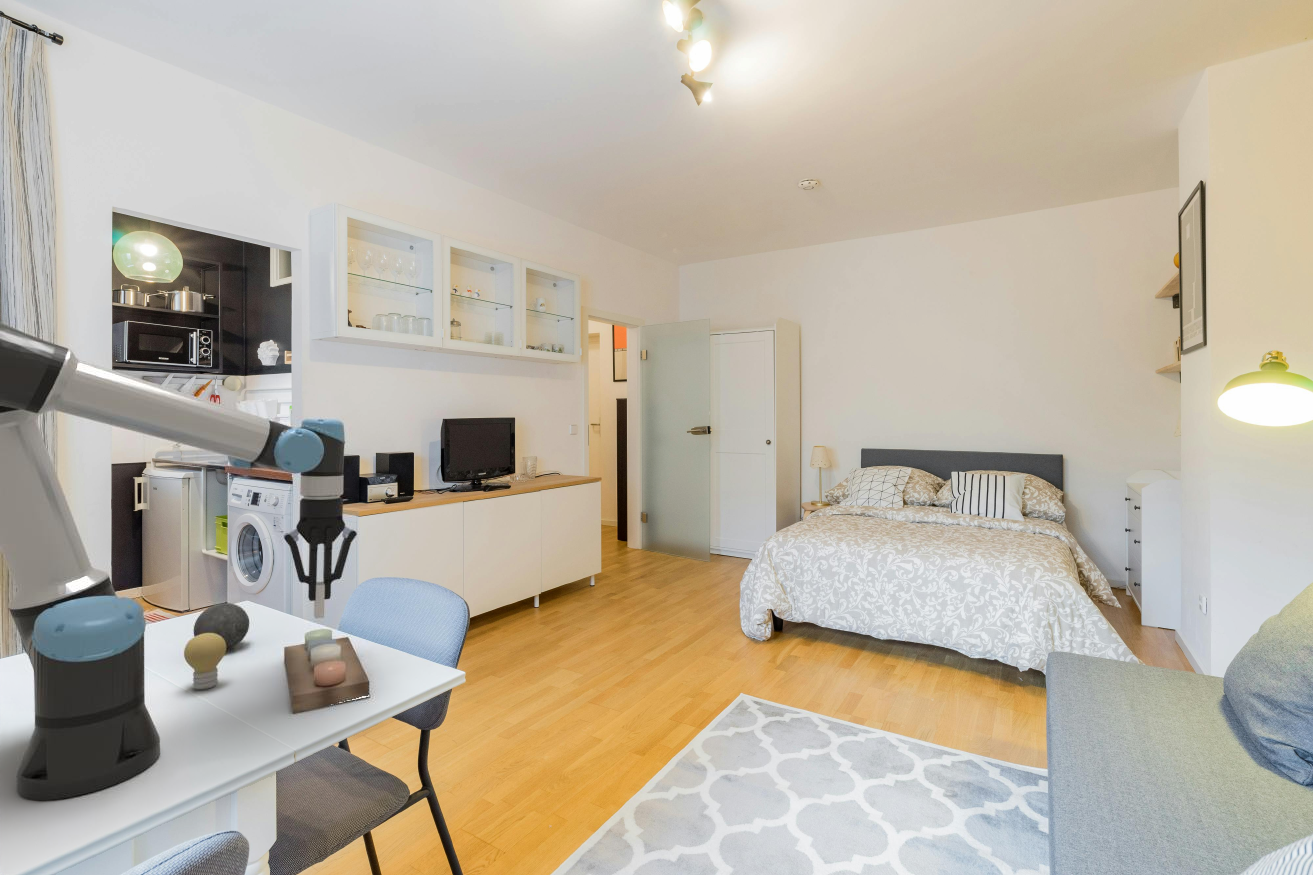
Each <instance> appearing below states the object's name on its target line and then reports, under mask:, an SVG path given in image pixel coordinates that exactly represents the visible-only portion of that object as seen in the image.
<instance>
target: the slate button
mask: <svg viewBox="0 0 1313 875" xmlns="http://www.w3.org/2000/svg"><path fill="white" fill-rule="evenodd" d="M334 639H335V638H332V639H320V640H315V641H312V642H310V643H309V644H308V659H309V660H311V649H312V648H314V647H316V646H319V645H324V644H336V640H334Z"/></svg>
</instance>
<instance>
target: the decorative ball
mask: <svg viewBox="0 0 1313 875" xmlns="http://www.w3.org/2000/svg"><path fill="white" fill-rule="evenodd" d="M249 629H250V618H249V616H248V613H247V611H245V609H244V608H242V606H240V605H238V604H234V603H231V602H230V603H228V602H223V603H222V602H221V603H218V604H214V605H210V606H209V607H208V608H206V609H204V611H203V612H202V613H200V614H199V616H198V617H197V618H196V620H195V622H194V625H193V638H194V637H195V636H197V635H200V634H204V633H214V634H218V635H220V636H221V637H222V638H223V639H224V640H225V643H226V651H227V650H230V649H232V648H233V647H235V646H237V645H238V644H239V643H242V641H243V640H244V638H246V635H248V634H247V633H248V632H249Z"/></svg>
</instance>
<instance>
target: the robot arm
mask: <svg viewBox="0 0 1313 875" xmlns="http://www.w3.org/2000/svg"><path fill="white" fill-rule="evenodd" d="M51 411H56V412H60V413H63V414H67V415H71V416H74V417H75V416H76V417H78V418H82V419H87V420H91V421H93V422H98V423H100V424H101V423H102V424H105V425H110V426H112V427H117V428H121V429H125V430H128V431H132V432H136V433H139V434H143V435H146V436H149V437H155V438H158V439H163V440H167V441H170V442H174V443H177V444H181V445H184V446H189V447H193V448H196V449H200V450H204V451H208V452H211V453H215V454H219V455H223V456H227V459H228V462H229V464H230V466H232V467H233V468H234V469H248V470H252V469H265V470H266V469H267V470H275V471H282V472H285V473H290V474H294V475H295V474H299V475H300V489H299V491H300V492H299V495H300V496H302V497H303V498H301V499H300V500H299V519H298V522H297V524H296V528H295V529H292V531H290V532H286V533H285V534H284V535H283V538H284V540H285V541H286V543H287V544H288V545H289V548H290V552H291V555H292V560H293V563H294V567H295V571H296V575H297V578H298V581H299V582H300V583H301V584H307V586H308V593H307V594H308V597H307V598H308V600H309V601H310V602H314V606H313V607H314V608H313V614H314V615H313V616H314V618H315V619H321V618H325V600H330V599H331V595H332V583H333V582H334V581H337V580H340V579H341V578H342V576H343V572H344V570H345V566H346V565H345V564H346V561H347V558H348V554H349V552H350V548H351V544H352V542H353V540H355V538H356V537H357V535H358V533H357V531H356V530H354V529H352V528H349V527H347V526H346V523H345V521H344V517H343V515H344V512H343V511H344V510H343V509H344V499H343V498H342V497H341V496H342V495H343V494H344V464H345V463H344V460H345V444H346V441H345V438H346V437H345V427H344V426H345V425H344V423H343V421H341V420H340V419H326V418H325V419H323V418H322V419H321V418H304V419H303V420H302V422H301V426H300V427H293V426H289V425H286V424H283V423H279V422H277V421H273V420H270V419H267V418H264V417H262V416H258V415H255V414H251V413H249V412H246V411H242V410H239V409H236V408H234V407H233V408H232V407H229V406H227V405H223V404H220V403H217V402H214V401H211V400H208V399H205V398H201V397H197V396H195V395H192V394H188V393H185V392H182V391H179V390H176V389H173V388H170V387H166V386H163V385H161V384H157V383H154V382H150V381H147V380H144V379H141V378H138V377H135V376H131V375H128V374H126V373H122V372H120V371H115V370H113V369H109V368H106V367H103V366H100V365H98V364H97V365H96V364H94V363H90V362H87V361H84V360H81V359H78V358H77V357H76V355H75V353H74V352H73V351H72V349H71V348H67V347H65V346H62V345H58V344H55V343H53V342H50V341H48V340H44V339H42V338H40V337H36V336H33V335H31V334H30V333H26V332H23V331H21V330H19V329H17V328H14V327H12V326H10V325H8V324H4V323H2V322H0V551H1V554H2V556H3V559H4V562H5V564H6V567H7V568H8V571H9V573H10V576H11V578H12V581H13V583H14V586H15V588H16V592H15V594H14V596H13V597H12V598H11V600H10V601H9V603H7V607H8V610H9V612H10V615H11V617H12V619H13V622H14V624H15V627H16V629H17V632H18V634H19V636H20V644H21V645H22V648H23V650H24V652H25V654H26V655H27V656H28V659H29V661H30V664H31V667H32V669H33V680H34V681H33V684H34V686H33V687H34V730H33V732H32V735H31V737H30V740H29V742H28V745H27V747H26V749H25V752H24V755H23V757H22V760H21V762H20V765H19V768H18V770H17V773H16V792H17V793H18V795H19V796H20V797H23V798H25V799H29V800H37V801H38V800H39V801H46V800H47V801H49V800H50V801H51V800H58V799H66V798H72V797H77V796H81V795H85V794H89V793H93V792H96V791H99V790H103V789H106V788H108V787H111V786H113V785H114V786H115V785H117V784H118V783H121V782H123V781H126V780H128V779H130V778H132V777H134V776H136V775H138V774H140V773H142V772H143V771H145V770H146V769H148V768H149V767H150V766H152V765H153V764H154V763H155V762H156V761H157V760H158V758H159V756H161V755H160V754H161V737H160V734H159V733H158V730H157V727H156V725H155V724H154V722H153V719H152V717H151V715H150V712H149V710H148V707H147V706H146V703H145V701H146V700H145V698H146V697H145V696H146V695H145V689H146V688H145V632H146V626H147V625H146V624H147V622H146V621H147V620H146V618H145V615H144V609H143V606H142V605H141V603H139V602H138V601H137V600H135V599H133V598H130V597H127V596H126V597H125V596H121V597H119V596H118V595H117V594H116V591H115V589H114V587H113V583H112V581H111V578H110V575H109V573H108V571H104V570H101V569H98V568H94V566H92V564H91V562H90V559H89V558H90V557H89V556H88V553H87V551H86V548H85V546H84V543H83V541H82V538H81V535H80V533H79V530H78V528H77V524H76V522H75V520H74V517H73V514H72V512H71V509H70V507H69V503H68V501H67V499H66V496H65V493H64V491H63V488H62V486H61V485H62V484H61V483H60V482H61V481H60V480H59V477H58V475H57V472H56V469H55V466H54V464H53V461H52V460H51V456H50V454H49V451H48V448H47V446H46V444H45V440H44V438H43V435H42V433H41V430H40V428H39V424H38V422H37V419H38V417H39V416H40V415H41V414H44V413H45V414H46V413H49V412H51ZM341 533H342V538H343V540H342V542H341V546H340V550H339V553H338V556H337V558H336V559H337V560H336V564H335V567H334V571H332V570H333V569H332V565H333V563H332V562H333V560H332V559H333V543H334V542H335V541H336V540H337V538H338V537H339V536H340V535H341ZM299 534H300V536H301V537H302V538H303V539H304V540H305V542H306V543H307V544H308V548H309V552H308V575H306V573H305V570H304V564H303V562H302V558H301V554H300V551H299V550H300V549H299V546H298V543H297V542H298V541H299ZM321 544H322V545H323V571H322V572H323V574H322V575H323V577H322V578H323V580H322V581H317V580H318V577H317V572H318V549H319V548H318V547H319V545H321Z"/></svg>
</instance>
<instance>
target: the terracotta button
mask: <svg viewBox="0 0 1313 875" xmlns="http://www.w3.org/2000/svg"><path fill="white" fill-rule="evenodd" d="M343 680H345V662H343V661H328V662H323V663H320V664H318V665H316V666H315V667H314V684H316V685H319V686H328V685H334V684H337V683H340V682H342V681H343Z"/></svg>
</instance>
